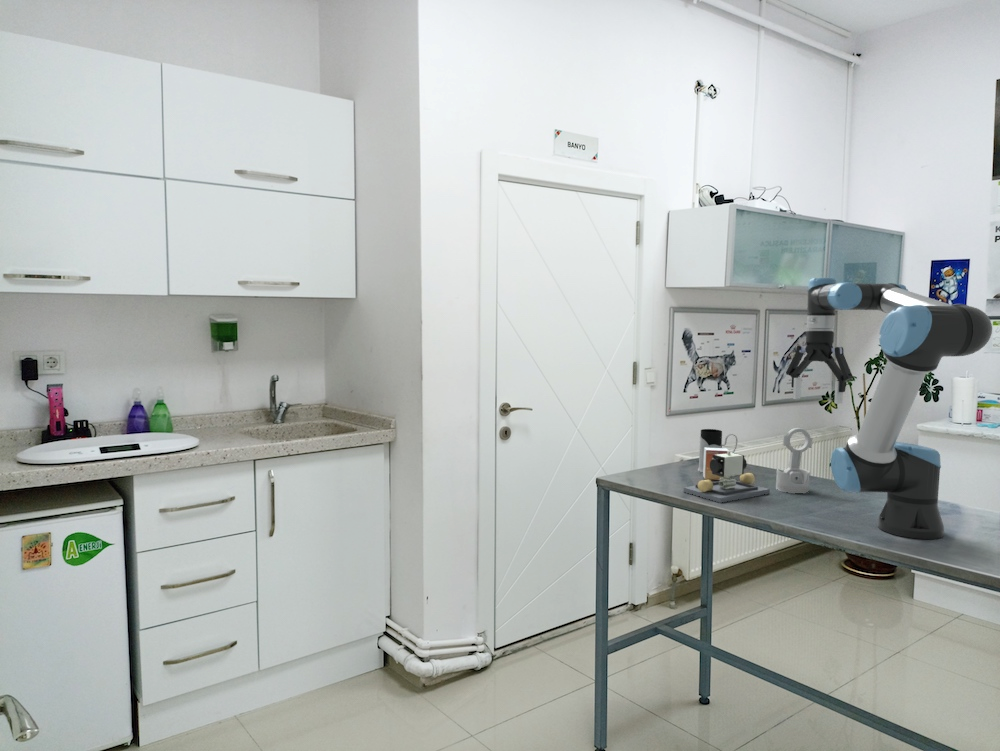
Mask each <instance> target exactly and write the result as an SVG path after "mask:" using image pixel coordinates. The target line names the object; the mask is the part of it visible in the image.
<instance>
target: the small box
mask: <svg viewBox="0 0 1000 751" xmlns="http://www.w3.org/2000/svg"><path fill="white" fill-rule="evenodd" d="M728 451H729V452H730V450H729V449H728V448H726V447H722V448H707V447H704V464H703V473H702V476H703V479H704V480H708V479H709V480H716V481H720V478H721V476H718V475H714V474H712V471H711V470H710V466H709V464H710V461H711V460H712V458H713V455H717V454H727V452H728ZM725 477H726V476H725Z"/></svg>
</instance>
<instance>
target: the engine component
mask: <svg viewBox="0 0 1000 751" xmlns="http://www.w3.org/2000/svg"><path fill="white" fill-rule="evenodd" d="M796 433H802V435H804V438H805V440H804V444H803V445H802V446H800V447H799V448H794V447H793V446H792V445H791V438H792V436H794V434H796ZM812 444H813V437H811V434H810V433H809V432H808V431H807V430H806V429H803V428H802V427H801V428H800V427H794V428H792V429H790V430H788V431H787V433H786V434H784V435H783V438H782V446H785V447H786V448H787V449H788V450H789V451H790V453H789V460H788V467H787V468H785V469H784V470H783V471H781V470H780V469H779V468H776V480H775V489H776V490H777V489H778V490H777V491H779V492H782V493H786V492H788V494H795V493H803V494H807V493H806V492H808V491H809V492H810V474H811V472H810V471H809V470H808V469H804V468H801V462H802V461H801V460H802V453H804V452H806V451H807V450H808V449H811V448H812ZM809 492H808V493H809Z"/></svg>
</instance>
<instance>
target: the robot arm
mask: <svg viewBox="0 0 1000 751" xmlns="http://www.w3.org/2000/svg"><path fill="white" fill-rule="evenodd" d="M837 310H839V311H848V310H849V311H880V312H883V313H886V314H887V315H886V316H885V318H884V320H883V321H882V323H881V325H880V329H879V336H880V337H879V338H878V340H879V346H880V348H881V350H882V351H883V356H884V358H885V359H886V363H885V366H884V368H883V371H882V372H881V373H882V374H881V376H880V378H879V381H878V383H877V385H876V387H875V391H874V393H873V395H872V398H871V401H870V403H869V405H868V408H867V410H866V413H865V415H864V417H863V420H862V423H861V425H860V428H859V430H858V433H856V434H853V435H851V436H849V438H848V440H847V443H846V444H845V447H842V446H840V447H837V448H835V449H834V450H833V451H832V453H831V457H830V469H831V473H832V477H833V480H834V482H835V484H836V485H837V487H838V488H839V489H841V490H842V491H843V492H846V493H847V492H848V493H855V494H860V493H861V494H862V493H886V494H887V495H886V500H885V501H884V502H885V503H884V504H883V507H882V509H881V512H880V513H879V516H878V519H877V520H878V522H877V527H878V528H879V530H881V531H882V532H883V531H884V532H886V533H888V534H892V535H895V536H900V537H902V538H903V537H904V538H911V539H920V540H921V539H922V540H935V539H936V540H937V539H941V538H943V537H944V534H945V526H944V522H943V520H942V519H943V518H942V516H941V513H940V510H939V506H938V504H939V501H938V500H939V488H940V487H939V486H940V473H941V468H942V465H941V454H940V452H939V451H938V450H936V449H934V448H931V447H927V446H924V445H920V444H919V445H918V444H913V443H908V442H901V441H900V442H899V441H898V440H897V439H898V437H899V435H900V433H901V431H902V429H903V426H904V424H905V422H906V420H907V418H908V415H909V412H910V411H911V408H912V406H913V404H914V403H915V402H914V401H915V399H916V397H917V395H918V393H919V392H920V388H921V386H922V384H923V381H924V379H925V378H926V376H927V373H928V374H929V373H932V372H934V371H936V370H937V368H938V366H939V364H940V362H941V360H942V358H943V357H965V356H969V355H973V354H975V353H976V352H979V351H980V350H982V349H983V348H984V347H985V346H986V345H987V344H988V343H989V341H990V339H991V336H992V334H993V325H992V322H991V321H992V320H991V319H990V317H989V316H988V314H986V313H985V311H983V310H981V309H980V308H977V307H974V306H970V305H967V304H963V303H955V304H950V303H947V302H944V301H940V300H938V299H934V298H931V297H929V296H926V295H922V294H919V293H915V292H913V291H909V289H908V288H907V287H906V286H905V285H904V284H900V283H893V282H889V283H868V282H867V283H863V282H861V283H859V282H850V281H841V282H837V279H836V278H834V277H813V278H810V280H809V282H808V289H807V314H806V315H807V317H806V329H807V331H805V332H806V333H805V343H806V346H805V345H797V346H796V349H795V354H794V355H793V358H792V360H791V362H790V363H789V366H788V368H787V370H786V372H785V374H786V375H787V376H790V377H791V388H793V391H792V399H793V400H799V399H801V398H802V397H801V396H802V377H801V375H802V373H803V372H804V371H805V370H806V369H807V368H808V366H809V365H810V364H811V363H812V362H820V363H822V362H824V363H825V364H826V365H827V367H828V368H829V369H830V371H831V372H832V374H833V375H834V376H835V378H836V379H837V380H836V381H835V382H834V384H835V385H834V400H833V401H834V404H837V405H838V404H843V395H844V393H846V387H847V386H846V383H847V381H849V380H852V379H853V377H854V376H853V374H852V371H851V368H850V366H849V364H848V361H847V360H846V356H845V354H844V352H845V351H844V347H843V346H836V347H833V344H834V340H835V337H834V336H835V332H834V331H833V330H834V329H835V318H836V314H835V313H836V311H837ZM805 353H806V355H805V356H804V354H805ZM833 354H834V356H835V357H833V356H832V355H833ZM803 357H804V358H803ZM802 359H803V360H802ZM835 359H836V360H835ZM836 361H837V362H836Z"/></svg>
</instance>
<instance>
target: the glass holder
mask: <svg viewBox="0 0 1000 751" xmlns="http://www.w3.org/2000/svg"><path fill="white" fill-rule="evenodd" d="M730 436H733V437H735V445H734V448H733V450H732V452H731V453H735V451H736V450H737V446H738V437H737V436H736V435H735V434H733V433H729V434H727V435H726V436H725V439H724V444H722V442H723V431H722V430H720V429H716V428H715V429H714V428H704V429H700V437H699V456H698V457H699V458H698V468H697V471H698V472H699V471H700V473H702V472H703V464H704V447H707V448H723V447H724V446H726V445H727V440H728V438H729V437H730Z"/></svg>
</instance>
